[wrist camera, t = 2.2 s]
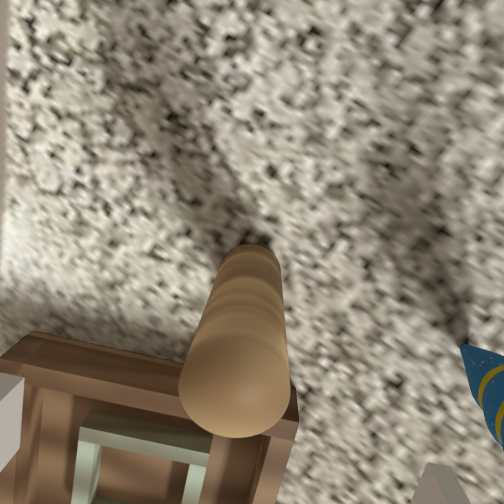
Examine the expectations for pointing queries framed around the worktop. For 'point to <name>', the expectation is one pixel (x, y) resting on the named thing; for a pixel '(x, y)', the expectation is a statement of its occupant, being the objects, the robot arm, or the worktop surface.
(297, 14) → the worktop surface
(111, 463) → the box
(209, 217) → the worktop surface
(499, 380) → the ornament
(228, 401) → the peg
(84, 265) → the worktop surface
